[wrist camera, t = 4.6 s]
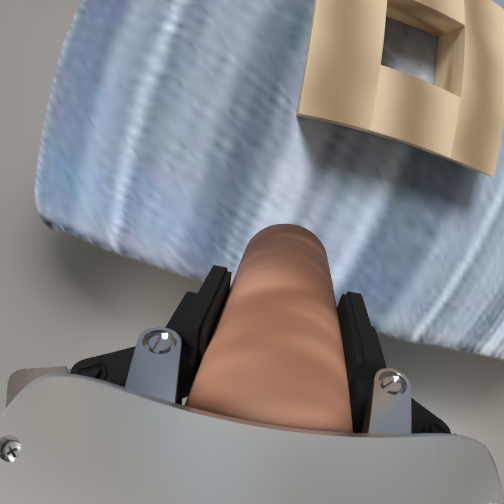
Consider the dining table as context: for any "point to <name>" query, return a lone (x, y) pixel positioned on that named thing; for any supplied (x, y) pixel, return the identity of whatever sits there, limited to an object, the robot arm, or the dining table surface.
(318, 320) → the peg
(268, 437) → the robot arm
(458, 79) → the socket block
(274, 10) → the dining table surface
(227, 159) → the dining table surface
